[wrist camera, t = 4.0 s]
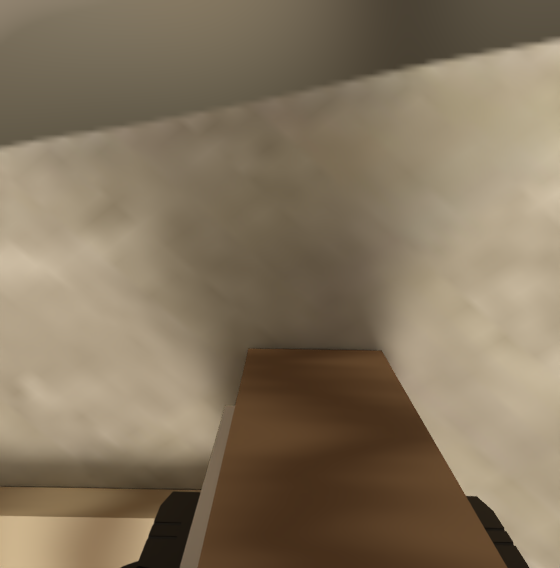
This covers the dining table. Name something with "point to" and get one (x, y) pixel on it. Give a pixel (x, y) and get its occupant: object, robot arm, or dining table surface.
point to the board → (76, 526)
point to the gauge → (335, 473)
